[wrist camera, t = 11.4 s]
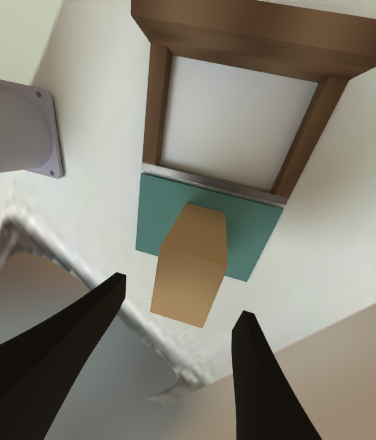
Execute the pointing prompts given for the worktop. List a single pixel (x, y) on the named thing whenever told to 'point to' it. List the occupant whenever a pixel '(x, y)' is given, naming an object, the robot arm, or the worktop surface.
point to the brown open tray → (253, 66)
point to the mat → (231, 205)
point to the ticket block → (191, 266)
